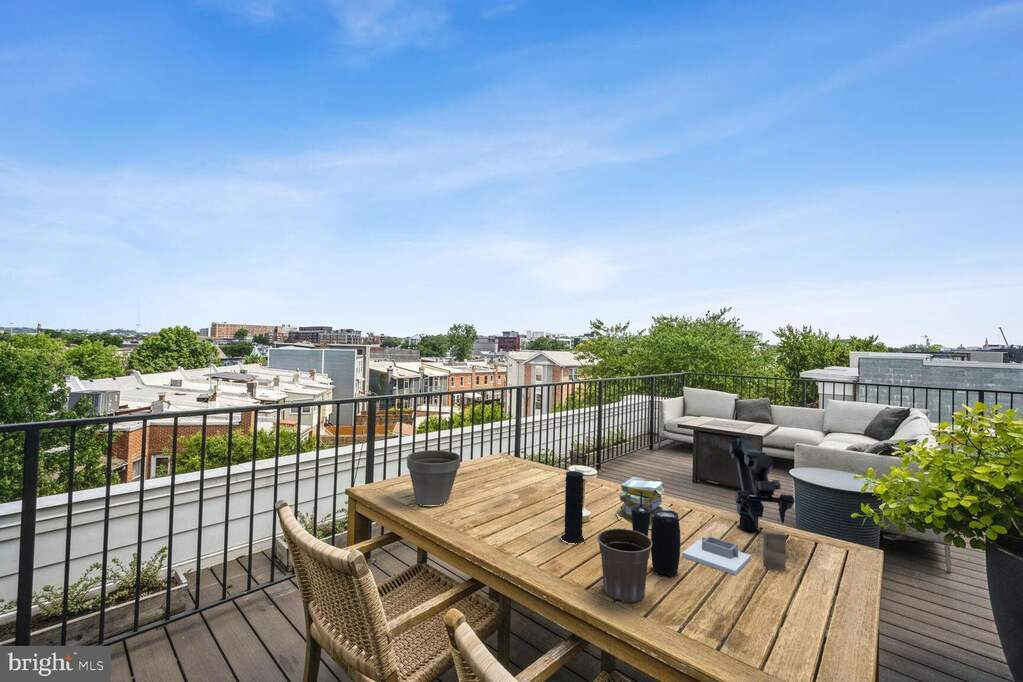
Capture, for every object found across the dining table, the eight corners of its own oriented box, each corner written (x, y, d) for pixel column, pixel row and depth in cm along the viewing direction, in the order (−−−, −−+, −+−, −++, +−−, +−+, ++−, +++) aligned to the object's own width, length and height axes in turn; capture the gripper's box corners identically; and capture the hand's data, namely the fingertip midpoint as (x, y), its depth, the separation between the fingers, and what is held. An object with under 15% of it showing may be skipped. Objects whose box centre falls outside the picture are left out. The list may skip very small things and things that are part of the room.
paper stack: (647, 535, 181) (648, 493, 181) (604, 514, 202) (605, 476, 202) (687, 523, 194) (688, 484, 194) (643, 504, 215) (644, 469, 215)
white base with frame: (700, 543, 174) (700, 531, 174) (750, 559, 161) (751, 546, 161) (682, 556, 162) (682, 544, 162) (735, 575, 150) (735, 561, 150)
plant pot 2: (620, 613, 127) (621, 555, 128) (585, 585, 142) (586, 533, 142) (663, 599, 135) (664, 544, 135) (625, 574, 149) (626, 525, 149)
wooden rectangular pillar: (763, 564, 158) (763, 529, 158) (782, 566, 156) (783, 531, 156) (766, 569, 154) (767, 534, 154) (786, 572, 152) (787, 536, 153)
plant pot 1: (470, 500, 217) (471, 454, 217) (435, 516, 196) (436, 465, 196) (431, 490, 230) (432, 447, 230) (394, 504, 209) (395, 457, 209)
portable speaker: (645, 567, 154) (646, 509, 154) (667, 563, 157) (668, 506, 157) (662, 580, 146) (663, 519, 146) (685, 575, 149) (686, 515, 149)
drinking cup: (651, 550, 167) (652, 495, 167) (630, 548, 169) (631, 494, 169) (649, 541, 175) (650, 489, 175) (629, 539, 176) (630, 487, 176)
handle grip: (582, 547, 168) (589, 537, 177) (583, 476, 168) (590, 469, 178) (556, 542, 173) (565, 532, 182) (558, 472, 173) (566, 466, 182)
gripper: (737, 468, 170) (744, 508, 159) (793, 473, 165) (804, 514, 155) (732, 483, 178) (738, 522, 167) (785, 488, 173) (795, 528, 162)
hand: (768, 521), depth 162 cm, fingers open, 9 cm apart
